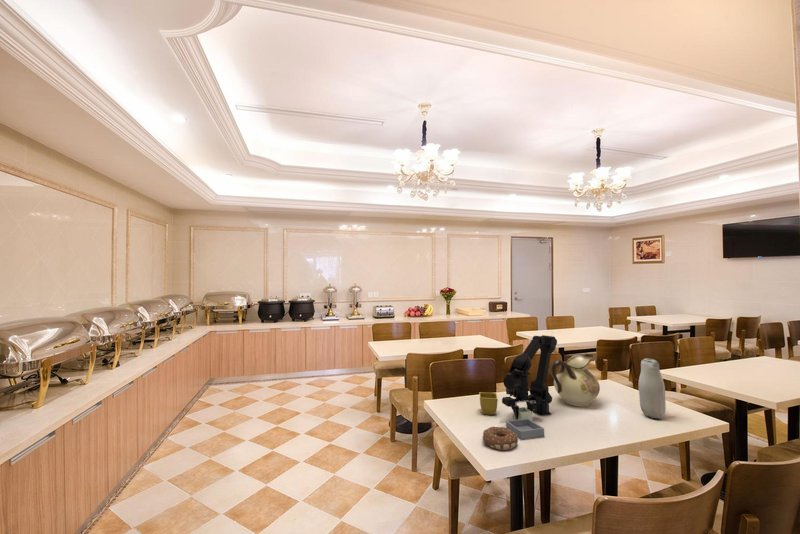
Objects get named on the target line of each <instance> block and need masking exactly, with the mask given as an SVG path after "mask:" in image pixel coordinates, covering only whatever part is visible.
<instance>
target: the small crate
mask: <svg viewBox="0 0 800 534" xmlns="http://www.w3.org/2000/svg"><path fill="white" fill-rule="evenodd" d="M519 419H530V420H531V421H533V412H532V411H530V410H528V409H527V407H525V406H524V407H519V414H518V419H516V417H515V415H514V414H513V420H519Z"/></svg>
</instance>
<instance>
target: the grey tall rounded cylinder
mask: <svg viewBox="0 0 800 534" xmlns="http://www.w3.org/2000/svg"><path fill="white" fill-rule="evenodd" d="M661 373H662V372H661V370H660V363H659V362H658V361H657V360H656V359H653V358H648V357H647V358H643V359H642V360H641V361H640V374H639V378H638V384H637V385H638V394H639V397H638V398H639V407H640V410H641V411H642V413H643V414H644V415H646V416H647V417H649V418H653V419H661V418H663V417H664V416H665V414H666V409H667V405H666V387H665V382H664V379H663V376H662V374H661Z"/></svg>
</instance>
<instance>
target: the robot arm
mask: <svg viewBox="0 0 800 534" xmlns="http://www.w3.org/2000/svg"><path fill="white" fill-rule="evenodd" d="M557 345H558V340H557V338H556V337H555V336H553V335H544V334H543V335H533V336H532V339H531V340H530V342H529V343H528V345H527V346H526V348H525V350H523V352H522V353H521V354H519V355H517V356H516V357H515V358H514V359H513V361H512V363H511V364H510V368H509V370H508V373H507V374H506V376H505V377H503V380H502V382H503V385H504V387H505V393H506V395H509V396H503V397H502V399H501V404H503V405H504V406H506V407H508V408H509V407H510V408H511V410H512V412H513V416H514V415H515V417H516V419H518V414H519V408H520V406H519V405H518V403H525V404H526V408H527V409H528V410H530V411H532V413H535V414H537V415H538V416H548V415H549V416H550V415H552V412H550V404H551V403H552V401H553V396H552V394H550V392H549V391H550V390H549V389H550V388H549V386H548V383H547V379H548V373H549V366H550V361H551V357H552V356H551V355H552V353H554V351H555V350H556V347H557ZM539 350H540V353H539V361H538V366H537V372H536V376H535V377H536V378H535V380H533V381H531V382H530V386H529V378H528V377H529V376H530V375H531V373H530V372H529V371H530V368H531V367H532V360H533V358H534V357H535V355H537V353H538V351H539ZM529 393H530V394H529ZM513 397H514V398H513Z"/></svg>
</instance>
